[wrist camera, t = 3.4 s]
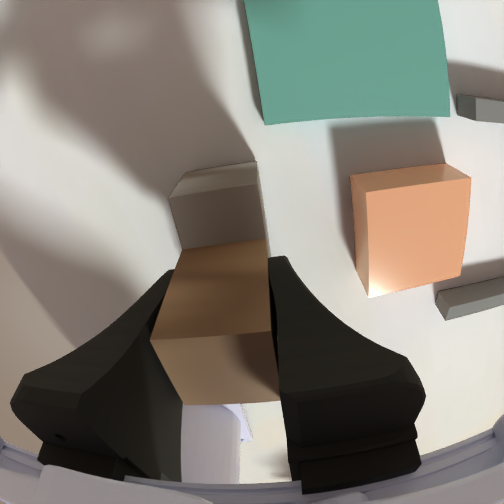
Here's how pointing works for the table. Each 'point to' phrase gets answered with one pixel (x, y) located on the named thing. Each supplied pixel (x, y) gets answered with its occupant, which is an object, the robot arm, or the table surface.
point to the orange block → (409, 226)
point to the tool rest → (348, 58)
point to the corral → (489, 291)
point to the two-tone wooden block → (220, 292)
